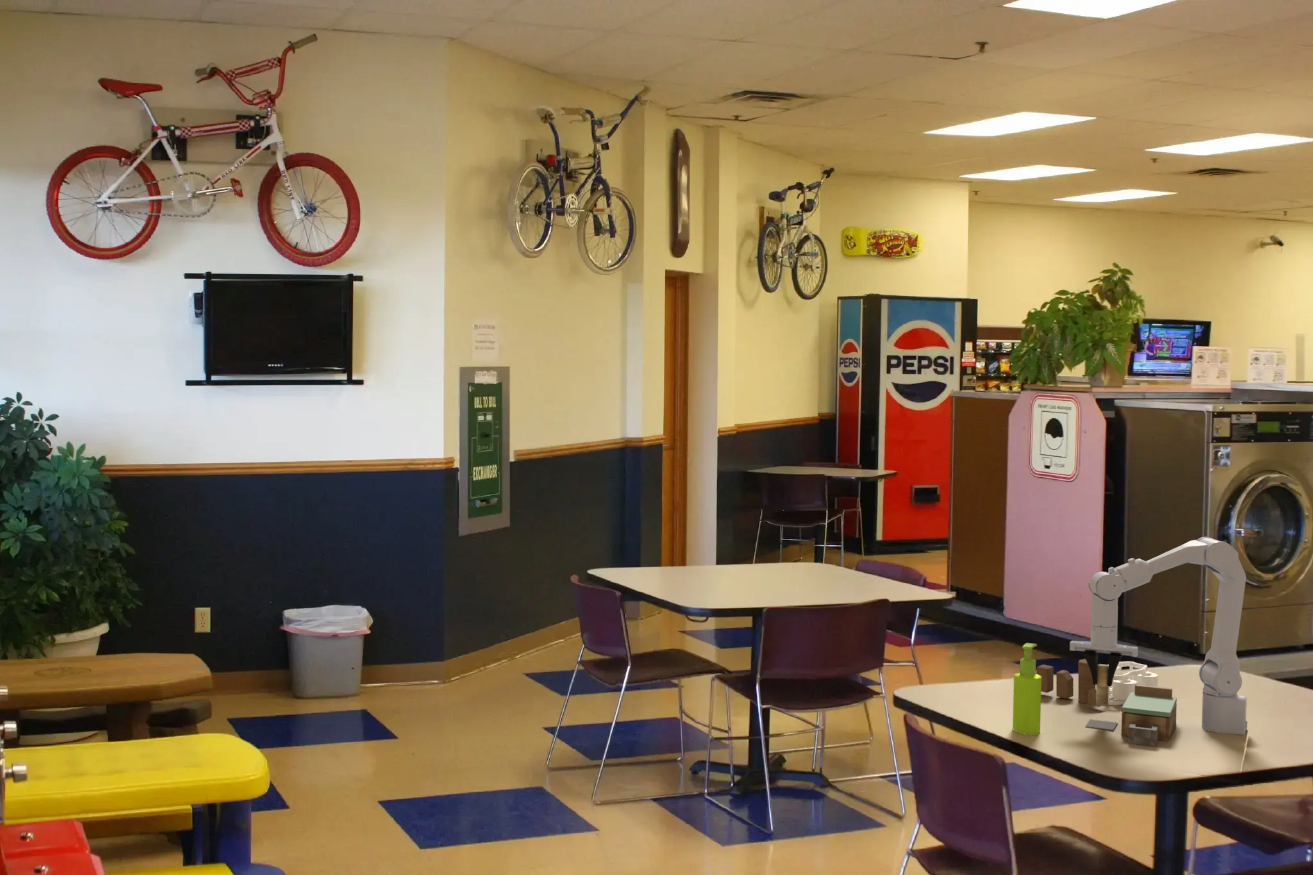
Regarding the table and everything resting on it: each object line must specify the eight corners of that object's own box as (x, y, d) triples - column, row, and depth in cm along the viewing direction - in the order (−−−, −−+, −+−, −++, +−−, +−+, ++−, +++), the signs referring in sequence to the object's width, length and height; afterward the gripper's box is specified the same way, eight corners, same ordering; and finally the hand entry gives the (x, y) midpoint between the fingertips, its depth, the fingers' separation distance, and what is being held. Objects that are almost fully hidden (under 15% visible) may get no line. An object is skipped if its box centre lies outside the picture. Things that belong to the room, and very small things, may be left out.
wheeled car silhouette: (1126, 709, 318) (1127, 678, 317) (1084, 700, 326) (1084, 671, 325) (1164, 695, 332) (1165, 666, 331) (1122, 688, 340) (1123, 660, 339)
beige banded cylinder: (1110, 704, 301) (1111, 665, 300) (1103, 706, 299) (1105, 667, 299) (1100, 702, 303) (1101, 663, 302) (1093, 704, 301) (1094, 665, 301)
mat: (1117, 724, 303) (1117, 722, 303) (1113, 731, 297) (1113, 729, 297) (1090, 721, 306) (1090, 719, 305) (1085, 727, 299) (1085, 726, 299)
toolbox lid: (1176, 701, 303) (1177, 688, 303) (1169, 717, 289) (1170, 703, 289) (1130, 696, 308) (1131, 683, 307) (1121, 711, 293) (1122, 698, 293)
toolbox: (1176, 724, 303) (1176, 702, 303) (1166, 747, 284) (1167, 724, 283) (1130, 718, 308) (1130, 697, 308) (1117, 741, 288) (1118, 719, 288)
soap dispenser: (1044, 731, 296) (1046, 643, 295) (1036, 738, 290) (1038, 648, 289) (1017, 727, 299) (1019, 640, 298) (1009, 734, 293) (1011, 645, 292)
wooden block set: (1032, 698, 327) (1032, 658, 326) (1051, 690, 333) (1051, 651, 332) (1099, 714, 314) (1099, 672, 313) (1117, 705, 320) (1117, 664, 318)
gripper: (1140, 625, 300) (1138, 684, 301) (1074, 619, 307) (1072, 677, 307) (1136, 630, 294) (1134, 690, 295) (1069, 624, 300) (1067, 683, 301)
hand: (1102, 684), depth 301 cm, fingers closed on beige banded cylinder, 3 cm apart
